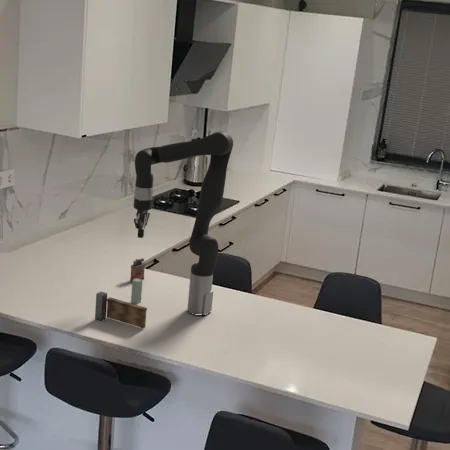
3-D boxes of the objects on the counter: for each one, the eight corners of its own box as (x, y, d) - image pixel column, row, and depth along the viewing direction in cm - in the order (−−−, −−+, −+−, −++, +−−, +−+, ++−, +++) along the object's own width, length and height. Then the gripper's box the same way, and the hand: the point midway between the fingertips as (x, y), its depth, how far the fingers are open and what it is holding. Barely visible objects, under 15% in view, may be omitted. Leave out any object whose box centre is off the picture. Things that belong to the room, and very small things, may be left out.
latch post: (140, 302, 293) (142, 280, 290) (136, 304, 290) (138, 281, 287) (135, 300, 294) (136, 278, 291) (130, 302, 291) (132, 280, 289)
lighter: (133, 283, 313) (134, 262, 310) (128, 280, 315) (129, 260, 312) (145, 279, 319) (147, 258, 316) (140, 277, 321) (142, 256, 318)
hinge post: (105, 319, 273) (107, 293, 270) (101, 321, 270) (102, 295, 267) (99, 317, 274) (101, 291, 271) (94, 319, 271) (96, 293, 268)
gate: (106, 317, 273) (107, 298, 271) (108, 315, 275) (109, 297, 273) (143, 328, 267) (144, 309, 264) (145, 327, 268) (146, 307, 266)
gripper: (140, 192, 292) (137, 231, 297) (128, 199, 280) (126, 240, 284) (157, 195, 291) (154, 234, 295) (146, 202, 278) (143, 243, 283)
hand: (140, 237), depth 290 cm, fingers closed
